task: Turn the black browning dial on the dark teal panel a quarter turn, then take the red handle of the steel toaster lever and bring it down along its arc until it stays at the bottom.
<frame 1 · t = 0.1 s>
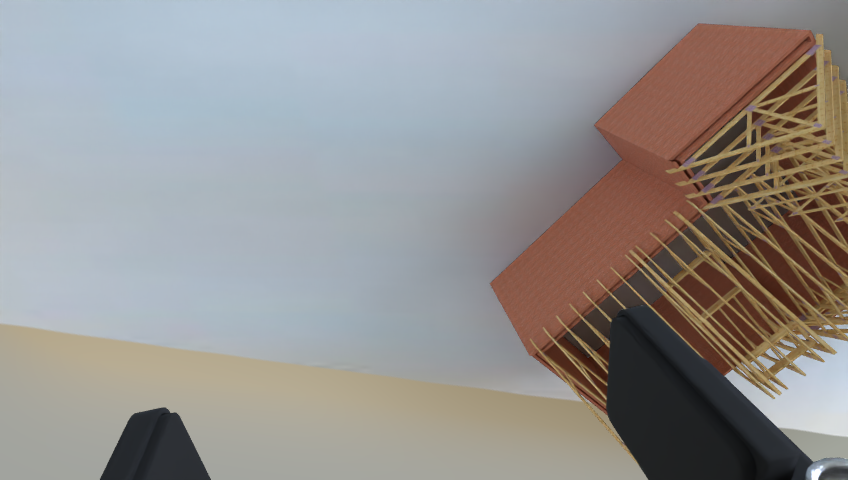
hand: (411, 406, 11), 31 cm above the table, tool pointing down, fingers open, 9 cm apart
house: (641, 225, 47), on the table
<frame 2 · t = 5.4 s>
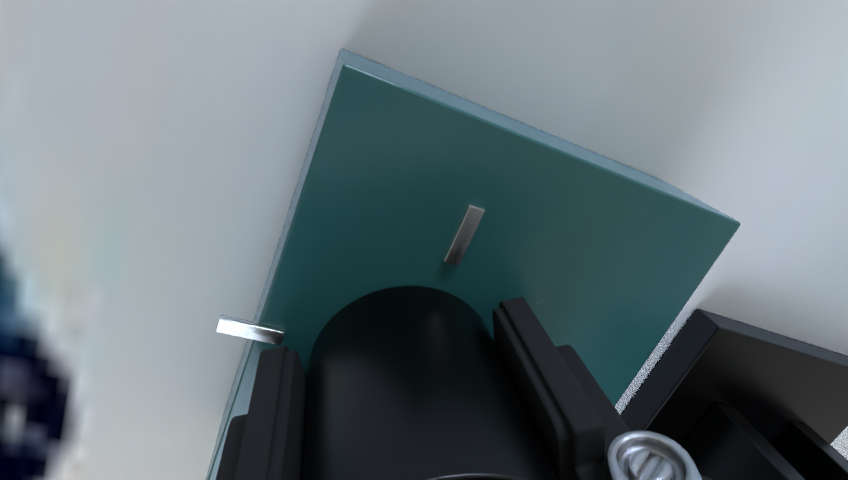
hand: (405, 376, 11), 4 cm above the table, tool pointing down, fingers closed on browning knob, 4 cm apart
black upright frame: (707, 431, 20), on the table
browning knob: (419, 451, 10), point 6 cm above the table, hinge at 0.0°, touching gripper
dial panel: (434, 303, 15), on the table
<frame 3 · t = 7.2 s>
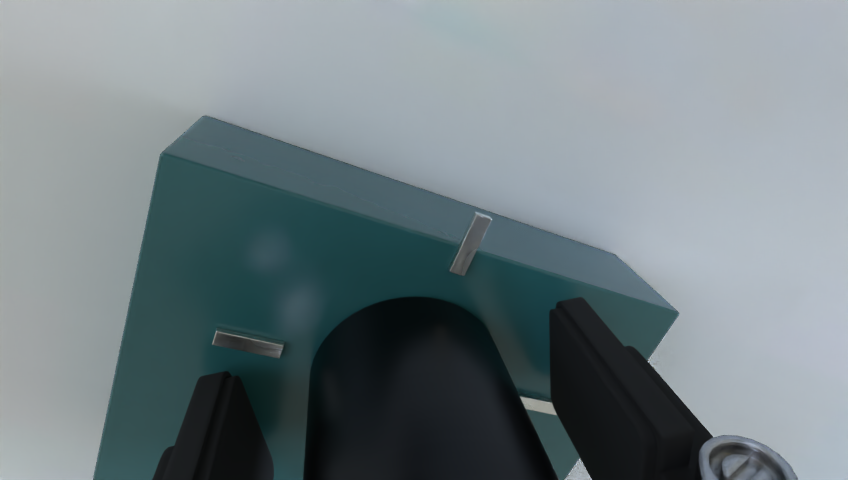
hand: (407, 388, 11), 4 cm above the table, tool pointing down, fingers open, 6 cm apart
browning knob: (424, 471, 9), point 6 cm above the table, hinge at 90.5°
dial panel: (374, 340, 15), on the table
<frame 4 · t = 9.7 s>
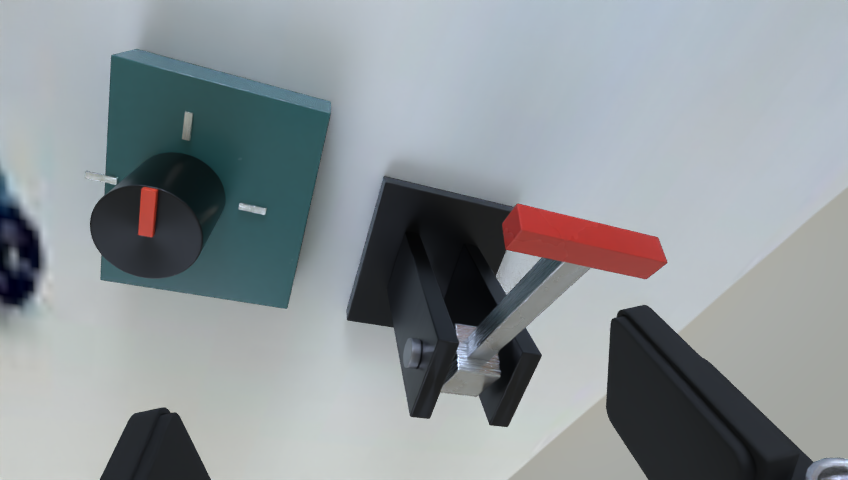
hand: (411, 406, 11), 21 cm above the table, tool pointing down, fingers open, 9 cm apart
black upright frame: (428, 259, 33), on the table
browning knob: (164, 213, 23), point 6 cm above the table, hinge at 90.5°
toaster lever: (509, 317, 20), point 13 cm above the table, hinge at 28.0°
dial panel: (223, 180, 29), on the table
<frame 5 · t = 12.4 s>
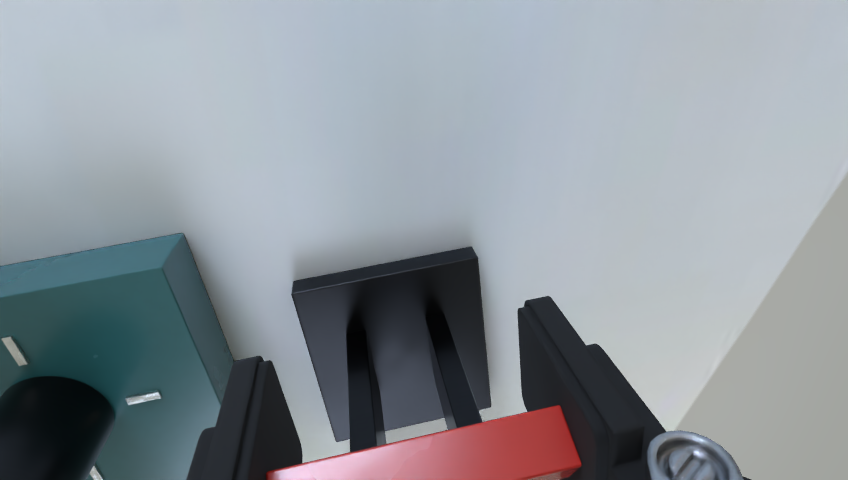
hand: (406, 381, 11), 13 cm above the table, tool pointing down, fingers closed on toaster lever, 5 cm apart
black upright frame: (399, 342, 27), on the table
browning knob: (24, 466, 19), point 6 cm above the table, hinge at 90.5°
dial panel: (122, 359, 24), on the table
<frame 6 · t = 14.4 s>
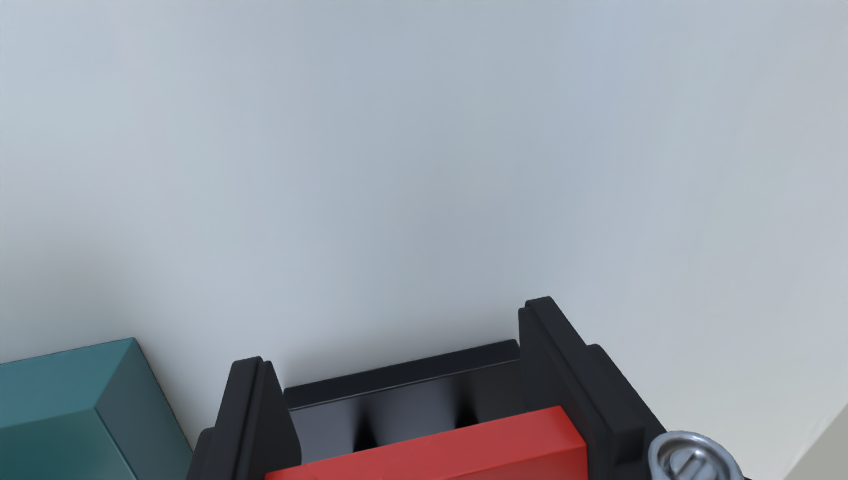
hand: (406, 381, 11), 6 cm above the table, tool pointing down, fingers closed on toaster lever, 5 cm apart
black upright frame: (419, 452, 21), on the table
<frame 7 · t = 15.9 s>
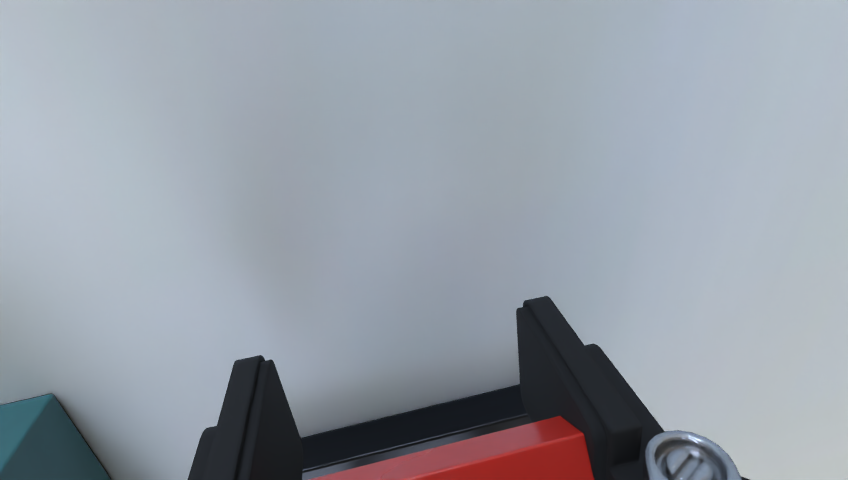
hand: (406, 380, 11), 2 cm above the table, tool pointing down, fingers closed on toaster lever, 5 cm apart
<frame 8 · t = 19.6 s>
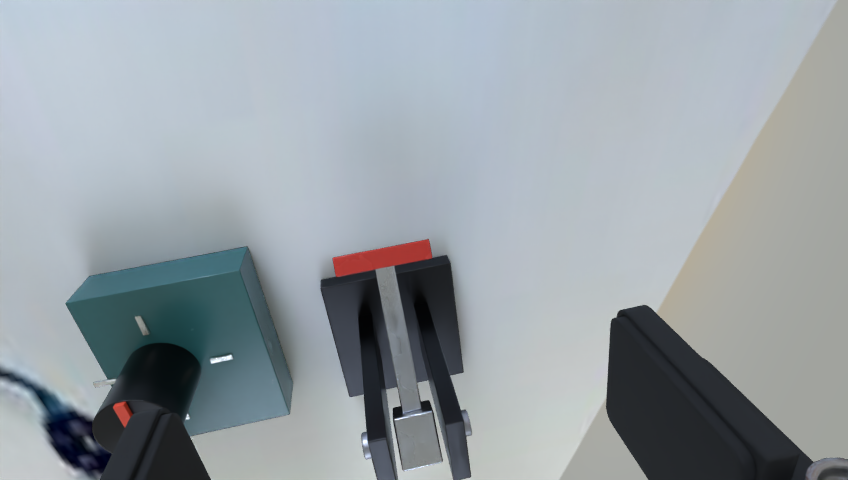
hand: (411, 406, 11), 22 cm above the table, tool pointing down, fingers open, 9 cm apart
black upright frame: (395, 324, 37), on the table
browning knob: (150, 400, 29), point 6 cm above the table, hinge at 90.5°
toaster lever: (401, 352, 28), point 8 cm above the table, hinge at -30.8°
dial panel: (200, 334, 34), on the table
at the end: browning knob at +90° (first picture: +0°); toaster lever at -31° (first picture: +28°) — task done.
